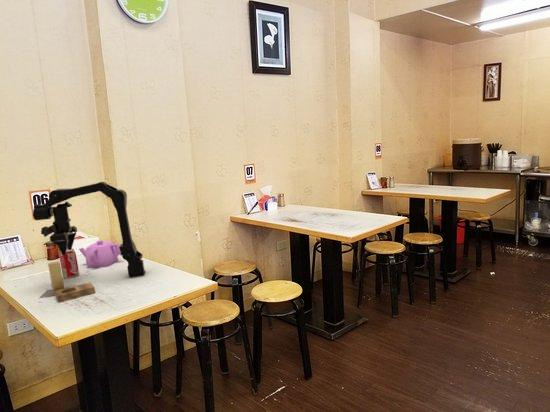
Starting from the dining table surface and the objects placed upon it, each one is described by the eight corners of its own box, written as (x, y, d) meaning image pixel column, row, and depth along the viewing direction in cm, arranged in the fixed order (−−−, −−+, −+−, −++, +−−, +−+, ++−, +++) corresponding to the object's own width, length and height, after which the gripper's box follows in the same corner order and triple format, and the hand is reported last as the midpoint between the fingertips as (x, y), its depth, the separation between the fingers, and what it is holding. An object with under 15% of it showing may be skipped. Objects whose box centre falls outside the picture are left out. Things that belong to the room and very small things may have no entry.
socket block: (91, 288, 178) (90, 282, 177) (95, 293, 171) (94, 286, 171) (56, 297, 171) (54, 290, 170) (58, 303, 164) (57, 296, 163)
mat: (71, 287, 182) (71, 286, 182) (64, 295, 173) (64, 294, 173) (47, 290, 181) (46, 290, 181) (38, 299, 171) (38, 298, 171)
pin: (63, 290, 178) (58, 261, 176) (65, 293, 174) (59, 263, 172) (53, 293, 175) (47, 263, 173) (54, 295, 172) (49, 265, 170)
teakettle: (93, 270, 206) (89, 246, 204) (80, 265, 218) (76, 242, 216) (126, 261, 218) (122, 238, 216) (111, 257, 230) (108, 235, 228)
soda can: (73, 279, 195) (68, 252, 193) (59, 279, 196) (54, 252, 194) (82, 274, 202) (78, 248, 200) (69, 274, 203) (65, 248, 201)
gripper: (48, 216, 191) (54, 249, 193) (33, 223, 173) (40, 260, 175) (74, 213, 193) (79, 246, 195) (62, 220, 175) (68, 256, 177)
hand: (67, 252), depth 185 cm, fingers open, 9 cm apart
